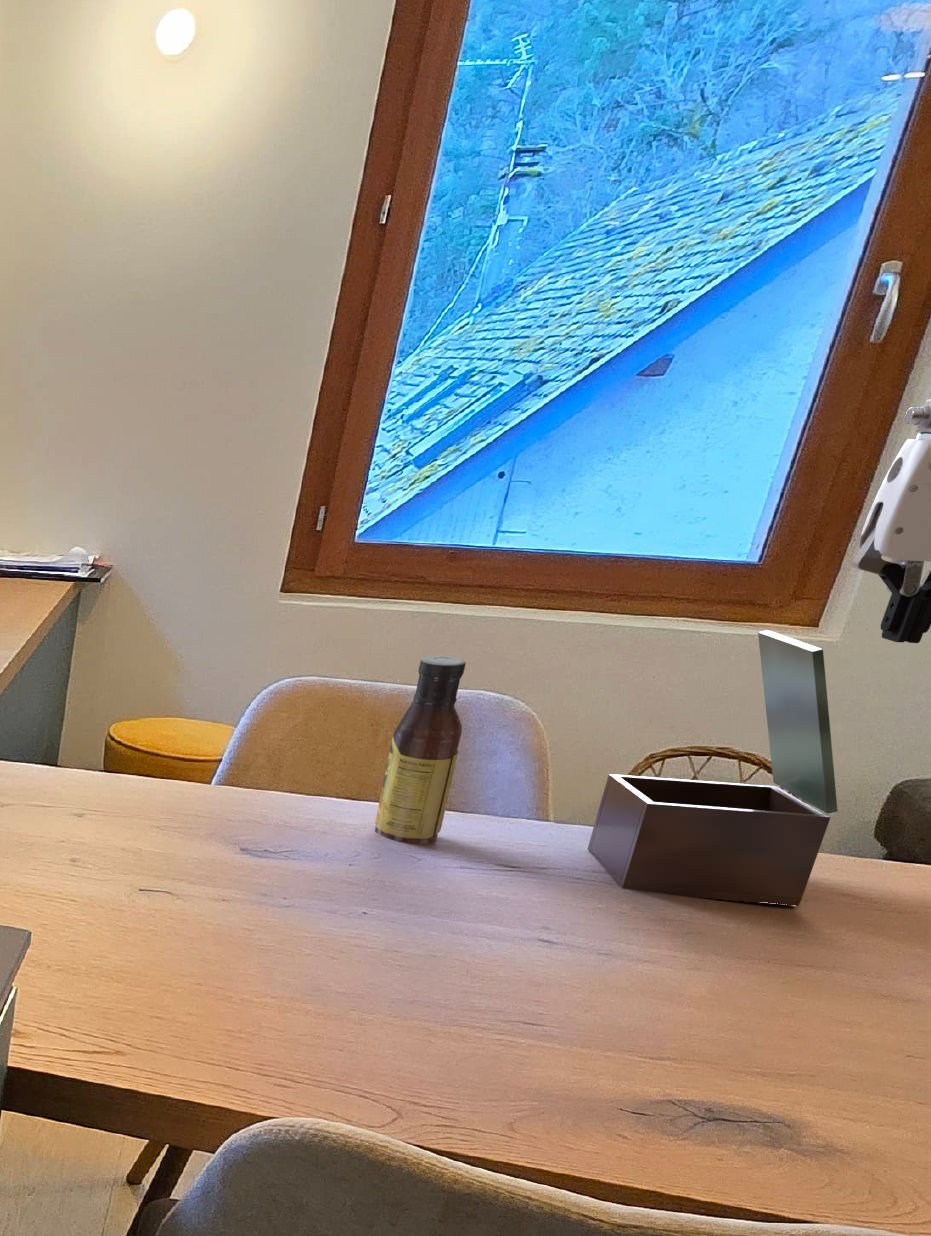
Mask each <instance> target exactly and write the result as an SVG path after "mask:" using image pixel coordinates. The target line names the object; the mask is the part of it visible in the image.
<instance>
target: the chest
mask: <svg viewBox="0 0 931 1236" xmlns="http://www.w3.org/2000/svg"><path fill="white" fill-rule="evenodd" d="M830 820H831V817H830V816H828V814H826V813H823V812H822V811H821V810H819V809H816V807H812V806H811V805H809V803H808V804H807V802H805V801H802V799H800V798H797V796H795V795H793V794H790V792H788V791H786V790H785V789H783V788H781V787H780V786H778V785H764V784H752V783H739V782H723V781H712V780H711V781H710V780H709V781H708V780H697V779H696V780H695V779H683V778H669V777H667V778H666V777H656V776H655V777H653V776H641V775H627V774H626V775H625V774H612V773H611V774H610V773H609V774H608V775H607V779H606V783H605V786H604V790H603V793H602V796H601V800H600V803H599V807H598V810H597V814H596V817H595V820H594V823H593V828H592V832H591V835H590V839H589V841H588V846H587V851H589V853H590V854H591V855H592V856H593V857H594V858H595V859H596V861H597V862H598V863H599V864H600V865H601V866H602V868H603V869H604V870H605V871H606V873H607V874H608V875H609V876H610V878H612V879H613V881H614V882H615V883H616V884H617V885H618V886H619V887H620V888H622V889H625V890H630V891H631V890H632V891H639V892H647V893H655V894H662V895H671V896H678V897H686V896H688V897H687V898H696V897H699V898H698V899H701V898H700V897H703V898H702V899H707V898H712V899H711V900H717V899H722V900H721V901H728V900H729V901H730V900H731V901H732V902H739V901H744V902H743V903H750V902H768V903H776V904H777V903H778V904H785V905H786V904H787V905H796V906H799V907H800V905H801V902H802V899H803V896H804V894H805V891H806V888H807V885H808V882H809V879H810V877H811V874H812V871H813V868H814V865H815V863H816V860H817V857H818V854H819V851H820V849H821V846H822V842H823V840H824V838H825V834H826V831H827V829H828V826H829V823H830ZM734 900H735V901H734ZM731 901H730V902H731Z"/></svg>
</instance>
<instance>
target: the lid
mask: <svg viewBox="0 0 931 1236" xmlns="http://www.w3.org/2000/svg"><path fill="white" fill-rule="evenodd" d="M757 637H758V647H759V656H760V666H761V667H760V668H761V675H762V685H763V694H764V695H763V696H764V704H765V705H764V706H765V714H766V715H765V716H766V722H767V725H766V726H767V733H768V734H767V735H768V744H769V753H770V761H771V762H770V763H771V773H772V781H773V782H772V783H773V784H775V785H776V786H778V787H779V788H781V789H783V790H785V791H786V792H788V793H791V795H793V796H795V797H798V799H800V800H803V801H804V802H805V803H808V804H810V806H811V805H812V806H814V808H817V810H819V811H821V812H824V814H826V815H828V814H832V813H837V812H838V800H837V790H836V779H835V767H834V756H833V745H832V744H833V743H832V735H831V722H830V712H829V700H828V690H827V677H826V666H825V655H824V649H823V648H820V647H819V646H816V645H812V644H809V643H806V642H803V641H800V640H798V639H794V638H792V637H790V636H786V635H784V634H780V633H778V632H775V631H772V630H770V629H766V630H761V631H758V632H757Z"/></svg>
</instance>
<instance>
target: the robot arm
mask: <svg viewBox="0 0 931 1236" xmlns="http://www.w3.org/2000/svg"><path fill="white" fill-rule="evenodd" d="M903 422H904V424H906V425H914V427H916V428H915V432H916V433H917V435H916V437H915V438H907V439H906V441H905V442H904V444H903V446H902V447H901V449H899V452H898V453H897V455H896V456H895V458H894V460H893V462H892V464H891V465H890V467H889V469H888V471H887V473H886V475H885V477H884V478H883V481H882V482H881V484H880V487H879V489H878V491H877V494H876V496H875V497H874V500H873V502H872V504H871V507H870V509H869V512H868V514H867V517H866V520H865V522H864V524H863V527H862V531H861V534H860V538H859V542H858V545H859V551H858V552H857V553H856V555H855V556H854V559H853V560H852V561H851V567H852V568H854V569H857V570H860V571H863V572H867V573H871V574H874V575H877V576H879V578H880V579H881V581H882V582H883V583H884V585H886V589H887V591H888V592H889V593H891V595H890V597H889V600H888V603H887V606H886V609H885V611H884V614H883V617H882V620H881V623H880V630H881V631H882V632H881V638H882V639H884V640H888V641H891V642H894V643H909V644H919V643H920V642H921V640H922V638H923V635H924V634H926V633H928V632H929V630H930V628H931V564H930V565H929V567H928V569H927V571H926V573H925V575H924V576H923V570H924V565H925V562H931V398H930V399H926V401H925V403H924V405H921V406H920V407H910V408H908V410H907V411H906V412H905V414H904V417H903ZM883 557H885V558H888V559H891V561H889V560H885V559H883ZM922 576H923V578H922Z"/></svg>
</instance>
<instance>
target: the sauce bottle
mask: <svg viewBox="0 0 931 1236" xmlns="http://www.w3.org/2000/svg"><path fill="white" fill-rule="evenodd" d="M465 669H466V661H465V659H462V658H459V657H455V656H449V655H448V656H447V655H427V656H423V657H422V658H421V659H420V662H419V666H418V670H417V672H418V675H419V676H418V678H417V679H418V680H417V685H416V690H415V693H414V695H413V700H412V701H411V703H410V705H409V707H408V708H407V709H406V712H405V713H404V715H403V716H402V718H401V719H400V721H399V723H398V725H397V726H396V728H395V729H394V731H393V734H392V738H391V742H390V744H391V745H390V748H389V753H388V759H387V762H386V763H387V764H386V768H385V773H384V777H383V781H382V788H381V793H380V797H379V801H378V807H377V811H376V817H375V822H374V827H375V829H374V832H375V833H377V834H378V835H379V836H381V837H384V838H386V839H389V840H393V841H396V842H402V843H406V844H407V843H408V844H414V845H415V844H416V845H433V844H435V843H436V842H437V841H438V835H439V833H440V832H441V830H442V826H443V821H444V818H445V813H446V809H447V804H448V799H449V796H450V795H449V794H450V791H451V786H452V783H453V778H454V772H455V769H456V763H457V760H458V756H459V746H460V741H461V736H462V732H463V726H462V722H461V719H460V715H459V714H458V712H457V709H456V707H455V704H456V703H457V700H458V699H457V696H458V695H457V694H458V691H459V687H460V682H461V679H462V677H463V676H464V673H465Z"/></svg>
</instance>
